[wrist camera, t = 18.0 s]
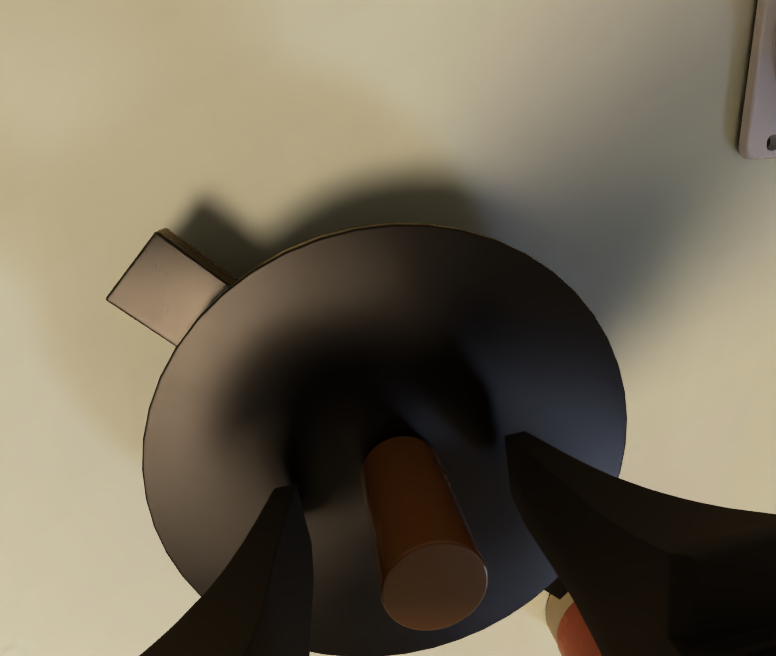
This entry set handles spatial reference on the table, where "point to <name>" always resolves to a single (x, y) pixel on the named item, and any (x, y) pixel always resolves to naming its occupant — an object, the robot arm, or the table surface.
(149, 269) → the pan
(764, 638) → the robot arm
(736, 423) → the table surface
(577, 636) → the can
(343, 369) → the pan lid
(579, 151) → the table surface
